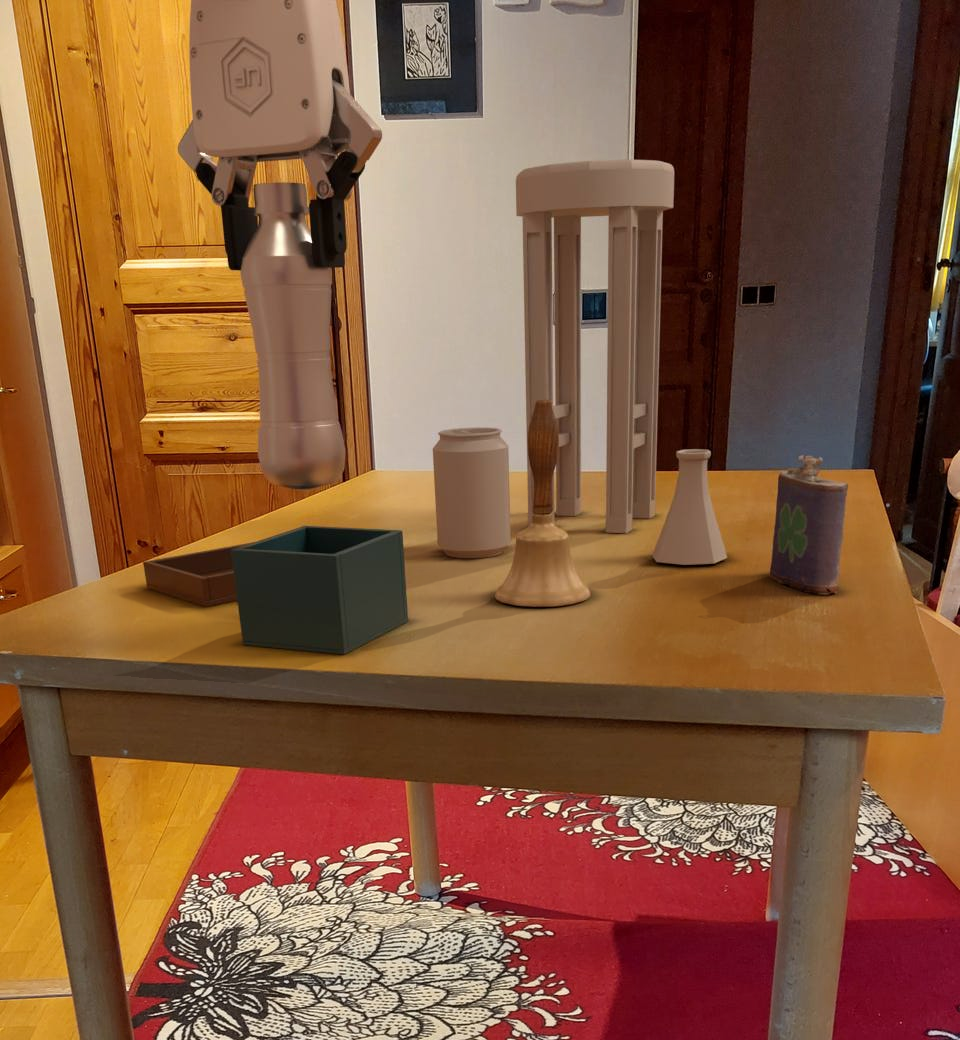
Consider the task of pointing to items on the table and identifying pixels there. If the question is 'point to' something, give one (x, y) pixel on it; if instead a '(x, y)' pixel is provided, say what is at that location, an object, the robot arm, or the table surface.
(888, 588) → the table surface
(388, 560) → the bin
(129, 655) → the table surface
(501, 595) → the hand bell
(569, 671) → the table surface
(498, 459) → the can
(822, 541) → the flask
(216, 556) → the tray
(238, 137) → the robot arm
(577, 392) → the stool
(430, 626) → the table surface
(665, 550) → the flask
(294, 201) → the metal bottle
